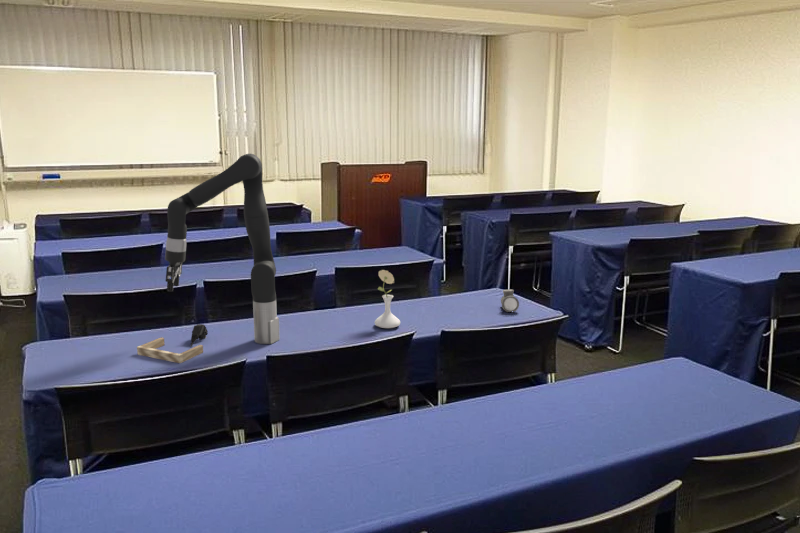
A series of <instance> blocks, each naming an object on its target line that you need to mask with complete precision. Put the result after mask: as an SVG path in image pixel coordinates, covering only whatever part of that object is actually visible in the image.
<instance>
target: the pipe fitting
mask: <svg viewBox="0 0 800 533" xmlns="http://www.w3.org/2000/svg"><path fill="white" fill-rule="evenodd" d="M514 291H515V290H514V289H511V288H510V289H504V290H502V293H503V296H502V297H501V298H500V304H501V308H502V309H503V310H504V311H505V312H506V313H508V312H512V311H513V312H512V313H514V311H515V312H516V311H517V310H518V309H519V308H520V302H519V298H517V297H516V296H514Z"/></svg>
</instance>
